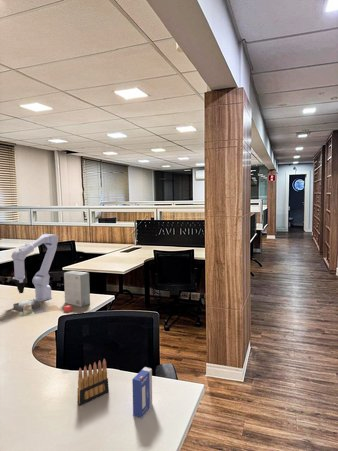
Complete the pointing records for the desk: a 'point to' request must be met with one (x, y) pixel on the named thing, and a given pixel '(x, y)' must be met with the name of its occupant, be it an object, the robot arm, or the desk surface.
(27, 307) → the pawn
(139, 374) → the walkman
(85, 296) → the hard drive box
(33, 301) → the dome button
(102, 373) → the ammunition clip
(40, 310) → the game mat
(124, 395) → the desk surface
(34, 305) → the button housing
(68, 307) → the red die
